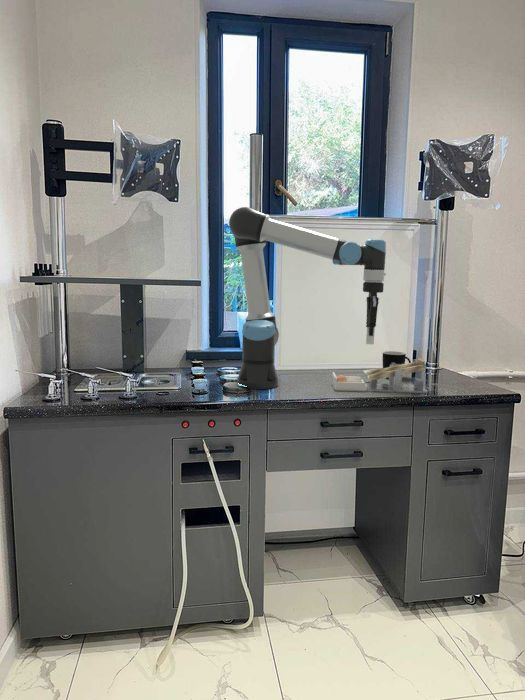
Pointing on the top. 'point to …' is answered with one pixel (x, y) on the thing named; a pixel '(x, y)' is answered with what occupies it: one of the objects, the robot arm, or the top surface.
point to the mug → (394, 358)
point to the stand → (397, 385)
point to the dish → (349, 384)
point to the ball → (341, 378)
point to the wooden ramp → (390, 371)
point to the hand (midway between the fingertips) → (369, 343)
